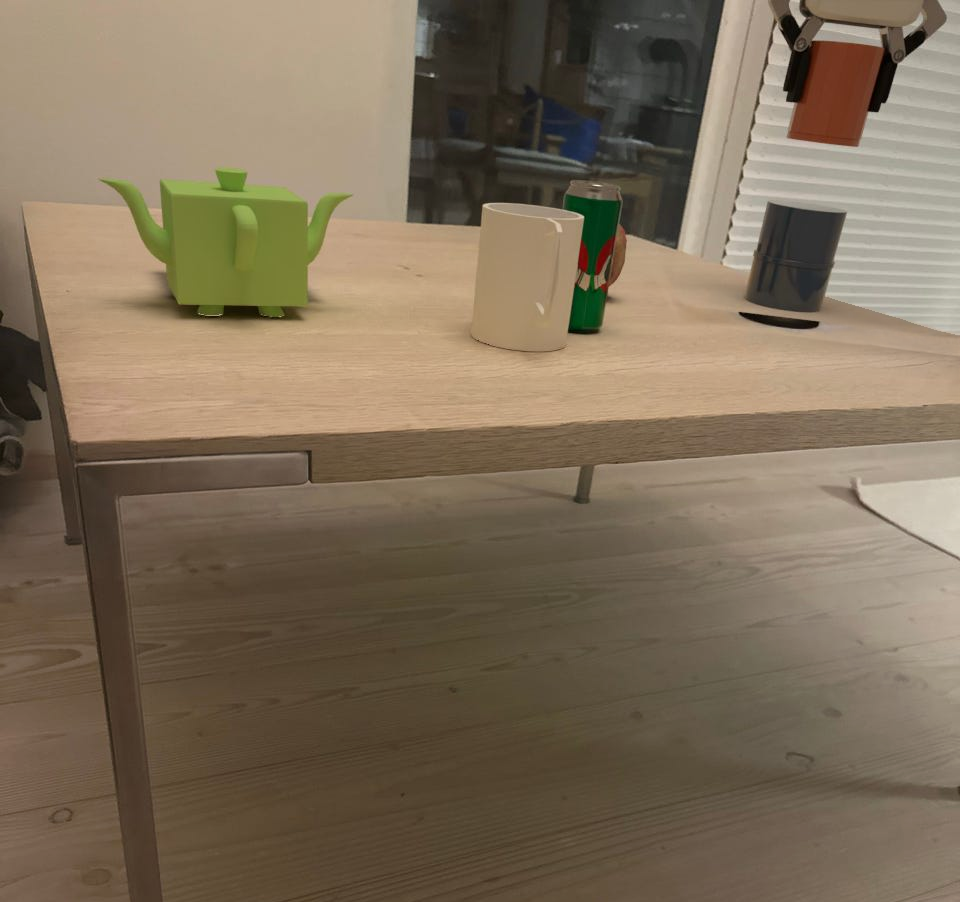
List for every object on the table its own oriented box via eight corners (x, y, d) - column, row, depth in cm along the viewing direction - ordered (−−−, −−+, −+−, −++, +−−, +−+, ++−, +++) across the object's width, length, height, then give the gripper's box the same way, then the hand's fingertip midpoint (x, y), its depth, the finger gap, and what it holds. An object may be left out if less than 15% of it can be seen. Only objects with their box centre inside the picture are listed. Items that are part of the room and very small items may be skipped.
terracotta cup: (847, 144, 92) (873, 50, 88) (866, 148, 87) (895, 48, 82) (780, 136, 92) (802, 42, 88) (794, 139, 87) (819, 38, 83)
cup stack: (808, 315, 102) (838, 206, 96) (826, 332, 95) (860, 216, 89) (732, 306, 102) (758, 197, 96) (745, 322, 95) (773, 205, 89)
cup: (494, 362, 72) (509, 222, 66) (461, 324, 81) (472, 200, 76) (593, 366, 74) (615, 230, 68) (550, 328, 83) (566, 207, 78)
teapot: (109, 305, 75) (93, 158, 69) (204, 282, 86) (197, 154, 80) (275, 337, 71) (273, 185, 66) (352, 309, 82) (355, 176, 77)
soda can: (592, 322, 88) (615, 182, 81) (608, 335, 83) (632, 189, 77) (541, 319, 86) (559, 177, 80) (554, 332, 82) (574, 184, 76)
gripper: (802, -155, 76) (747, 96, 85) (1013, -130, 75) (935, 119, 85) (783, -136, 82) (734, 95, 91) (978, -113, 82) (909, 116, 91)
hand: (831, 105), depth 88 cm, fingers closed on terracotta cup, 6 cm apart
